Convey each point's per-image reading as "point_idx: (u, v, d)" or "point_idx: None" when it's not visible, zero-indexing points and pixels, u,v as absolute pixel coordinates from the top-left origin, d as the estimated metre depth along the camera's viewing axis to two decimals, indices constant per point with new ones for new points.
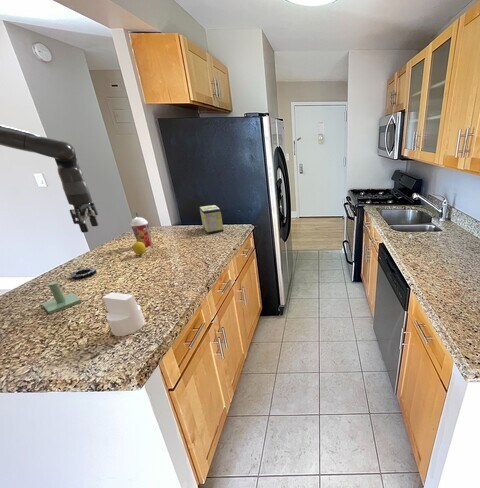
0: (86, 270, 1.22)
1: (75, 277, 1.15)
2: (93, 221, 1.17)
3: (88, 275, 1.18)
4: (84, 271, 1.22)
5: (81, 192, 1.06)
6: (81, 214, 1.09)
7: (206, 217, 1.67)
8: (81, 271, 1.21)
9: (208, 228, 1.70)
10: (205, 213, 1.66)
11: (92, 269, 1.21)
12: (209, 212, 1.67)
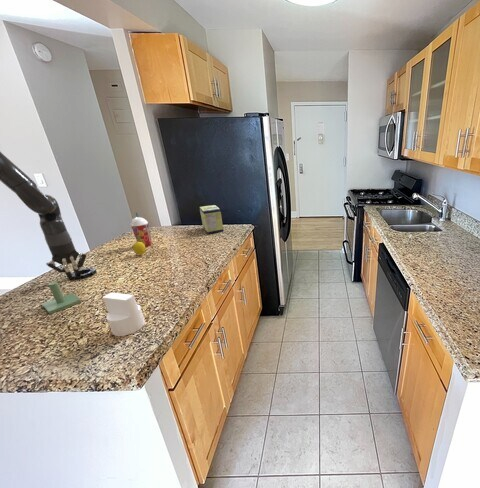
0: (86, 270, 1.22)
1: (75, 277, 1.15)
2: (75, 272, 1.17)
3: (88, 275, 1.18)
4: (84, 271, 1.22)
5: (53, 245, 1.07)
6: None
7: (206, 217, 1.67)
8: (81, 271, 1.21)
9: (208, 228, 1.70)
10: (205, 213, 1.66)
11: (92, 269, 1.21)
12: (209, 212, 1.67)
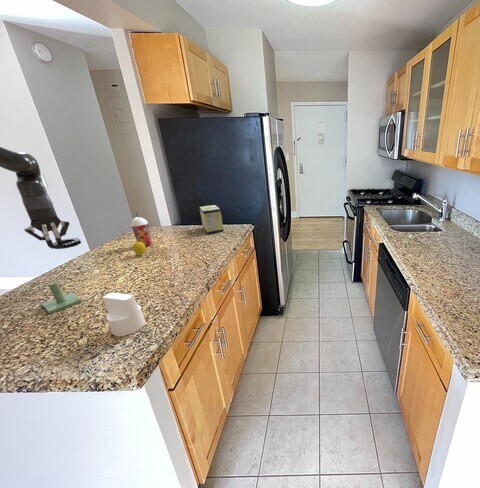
0: (70, 240, 1.12)
1: (57, 246, 1.06)
2: (57, 241, 1.07)
3: (71, 245, 1.08)
4: (67, 241, 1.12)
5: (31, 208, 0.98)
6: None
7: (206, 217, 1.67)
8: (64, 241, 1.11)
9: (208, 228, 1.70)
10: (205, 213, 1.66)
11: (76, 239, 1.12)
12: (209, 212, 1.67)
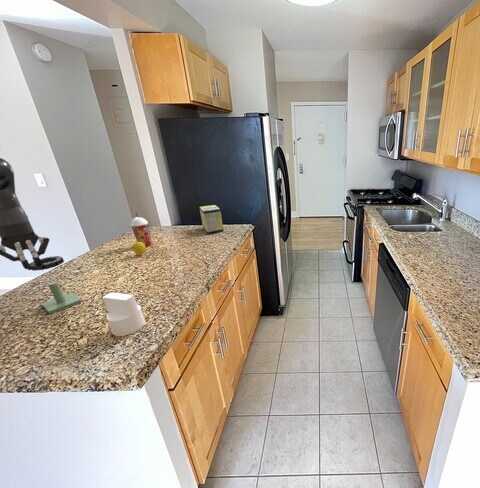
0: (51, 259, 0.96)
1: (34, 267, 0.90)
2: (34, 261, 0.91)
3: (52, 265, 0.92)
4: (48, 260, 0.96)
5: (0, 224, 0.81)
6: None
7: (206, 217, 1.67)
8: (44, 260, 0.95)
9: (208, 228, 1.70)
10: (205, 213, 1.66)
11: (58, 258, 0.96)
12: (209, 212, 1.67)
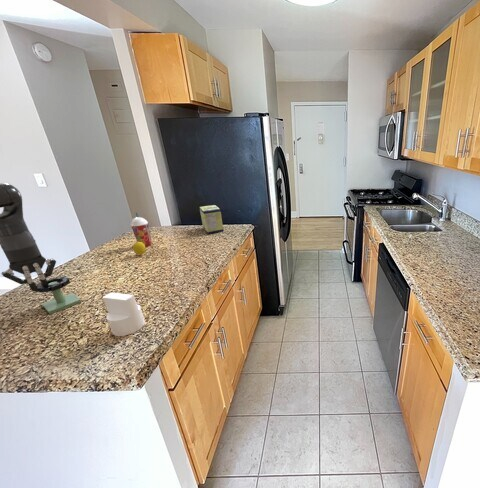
0: (57, 280, 0.98)
1: (41, 289, 0.91)
2: (41, 283, 0.93)
3: (58, 286, 0.94)
4: (54, 281, 0.97)
5: (9, 249, 0.83)
6: None
7: (206, 217, 1.67)
8: (50, 281, 0.96)
9: (208, 228, 1.70)
10: (205, 213, 1.66)
11: (64, 279, 0.97)
12: (209, 212, 1.67)
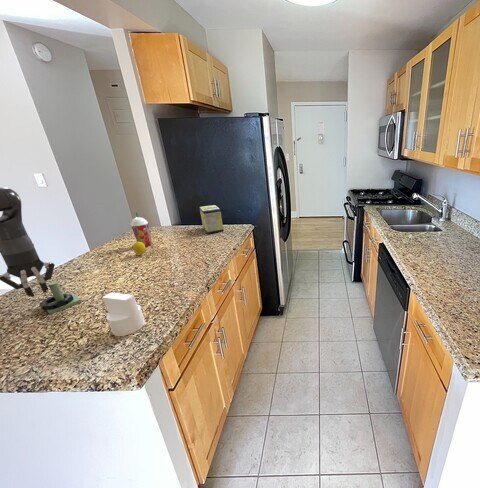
0: None
1: (46, 307, 0.93)
2: (41, 287, 0.93)
3: (62, 303, 0.95)
4: None
5: (7, 253, 0.83)
6: None
7: (206, 217, 1.67)
8: (54, 298, 0.98)
9: (208, 228, 1.70)
10: (205, 213, 1.66)
11: (68, 295, 0.99)
12: (209, 212, 1.67)
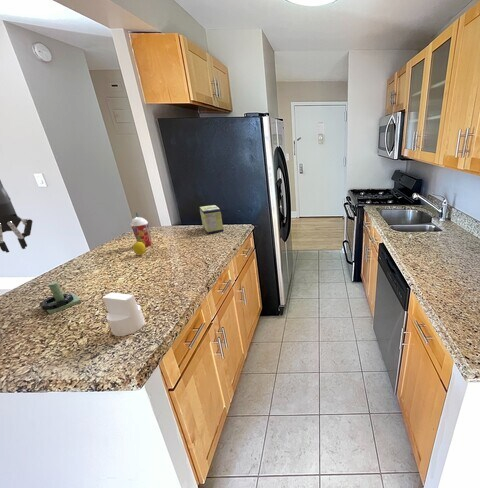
0: None
1: (46, 307, 0.93)
2: (19, 242, 0.92)
3: (62, 303, 0.95)
4: None
5: None
6: None
7: (206, 217, 1.67)
8: (54, 298, 0.98)
9: (208, 228, 1.70)
10: (205, 213, 1.66)
11: (68, 295, 0.99)
12: (209, 212, 1.67)
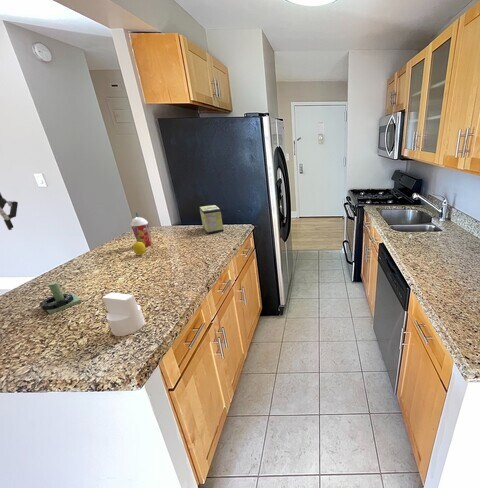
0: None
1: (46, 307, 0.93)
2: (6, 224, 0.96)
3: (62, 303, 0.95)
4: None
5: None
6: None
7: (206, 217, 1.67)
8: (54, 298, 0.98)
9: (208, 228, 1.70)
10: (205, 213, 1.66)
11: (68, 295, 0.99)
12: (209, 212, 1.67)
